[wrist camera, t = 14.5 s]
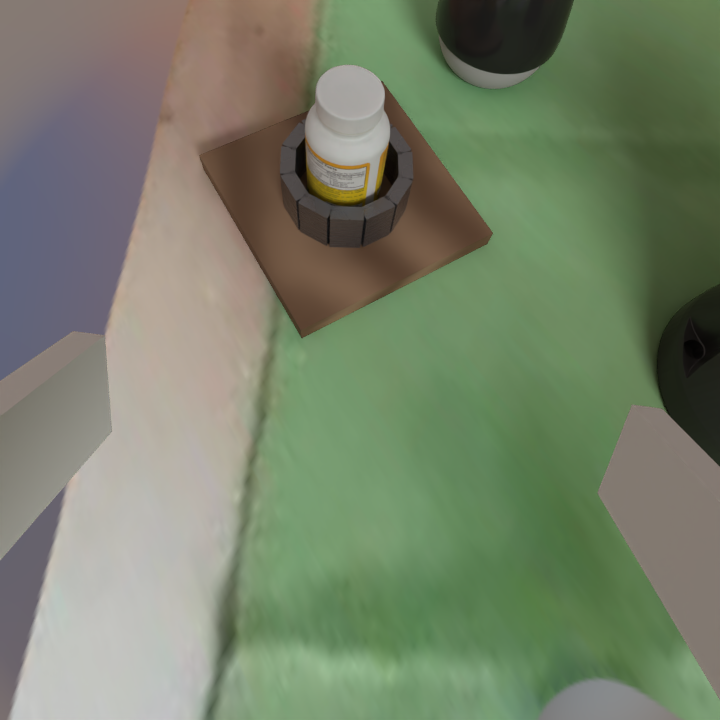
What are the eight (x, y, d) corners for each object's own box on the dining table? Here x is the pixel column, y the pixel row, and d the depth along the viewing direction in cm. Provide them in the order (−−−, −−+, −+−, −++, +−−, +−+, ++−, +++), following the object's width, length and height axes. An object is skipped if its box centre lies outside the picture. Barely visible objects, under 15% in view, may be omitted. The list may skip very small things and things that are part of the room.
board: (380, 95, 44) (382, 80, 43) (487, 243, 40) (493, 233, 39) (203, 168, 41) (199, 155, 39) (301, 338, 37) (300, 330, 36)
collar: (366, 127, 41) (370, 92, 38) (428, 216, 39) (437, 186, 36) (262, 172, 39) (257, 138, 36) (321, 267, 37) (320, 241, 34)
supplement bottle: (338, 239, 38) (343, 145, 29) (292, 189, 39) (282, 83, 30) (394, 199, 39) (415, 98, 30) (348, 152, 40) (355, 41, 31)
